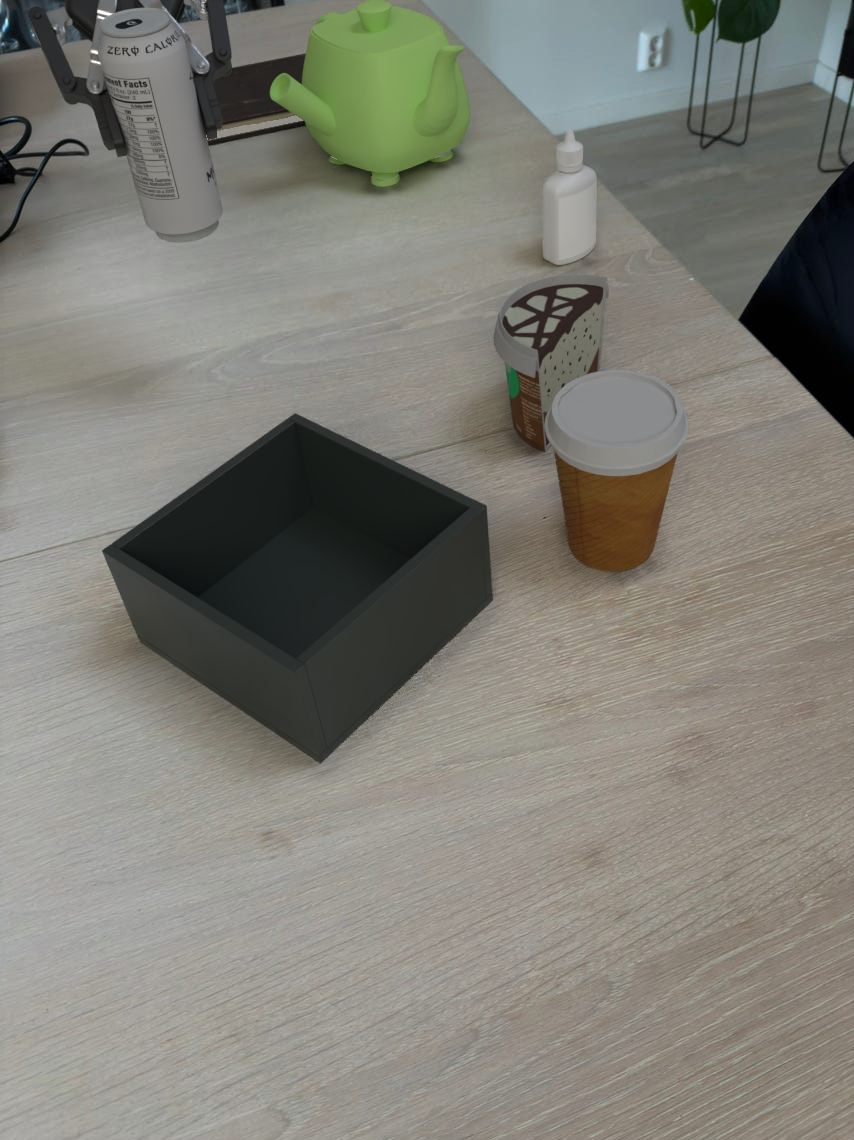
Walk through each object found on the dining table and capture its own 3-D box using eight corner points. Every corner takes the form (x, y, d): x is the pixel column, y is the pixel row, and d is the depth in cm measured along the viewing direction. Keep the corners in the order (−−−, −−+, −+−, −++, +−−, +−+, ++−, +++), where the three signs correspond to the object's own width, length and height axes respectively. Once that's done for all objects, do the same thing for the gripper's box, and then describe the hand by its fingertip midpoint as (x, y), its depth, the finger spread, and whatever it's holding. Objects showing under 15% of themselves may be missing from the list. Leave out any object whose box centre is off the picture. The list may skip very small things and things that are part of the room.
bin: (320, 764, 71) (295, 673, 64) (139, 642, 79) (101, 550, 72) (493, 600, 80) (487, 505, 73) (315, 505, 88) (295, 412, 81)
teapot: (237, 168, 127) (204, 17, 116) (386, 106, 136) (370, -40, 125) (373, 245, 114) (351, 82, 102) (528, 171, 123) (525, 13, 111)
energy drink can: (240, 226, 88) (195, 19, 77) (172, 254, 86) (115, 44, 75) (200, 200, 91) (152, -2, 80) (134, 227, 89) (74, 21, 78)
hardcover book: (356, 114, 135) (354, 95, 134) (166, 154, 131) (161, 134, 129) (323, 67, 146) (320, 48, 144) (145, 102, 141) (140, 83, 140)
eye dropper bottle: (603, 259, 110) (606, 136, 101) (547, 269, 109) (545, 145, 100) (591, 238, 113) (593, 116, 104) (536, 247, 112) (533, 125, 103)
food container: (543, 362, 99) (541, 256, 91) (606, 380, 96) (609, 273, 89) (469, 440, 92) (461, 333, 84) (536, 462, 90) (533, 354, 82)
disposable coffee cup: (640, 486, 87) (649, 352, 78) (700, 564, 81) (717, 428, 72) (526, 521, 85) (521, 387, 76) (579, 604, 79) (580, 469, 70)
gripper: (-16, -107, 76) (59, 141, 77) (196, -138, 79) (265, 101, 80) (7, -42, 83) (75, 183, 84) (200, -73, 86) (263, 145, 87)
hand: (167, 142), depth 82 cm, fingers closed on energy drink can, 6 cm apart
